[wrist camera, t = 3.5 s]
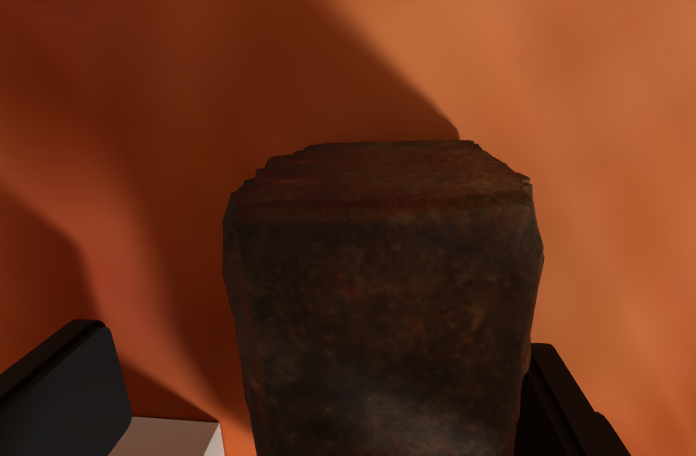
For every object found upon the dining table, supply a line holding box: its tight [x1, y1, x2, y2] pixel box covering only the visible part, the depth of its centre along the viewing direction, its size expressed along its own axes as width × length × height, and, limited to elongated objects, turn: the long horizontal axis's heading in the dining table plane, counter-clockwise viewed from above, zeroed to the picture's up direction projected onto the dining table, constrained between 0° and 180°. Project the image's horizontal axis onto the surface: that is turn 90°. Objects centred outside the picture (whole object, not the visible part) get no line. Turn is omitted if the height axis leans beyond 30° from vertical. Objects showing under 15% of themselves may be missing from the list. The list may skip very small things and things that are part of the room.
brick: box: [223, 140, 544, 456], centre depth 8 cm, size 11×4×5 cm, turn 2°
